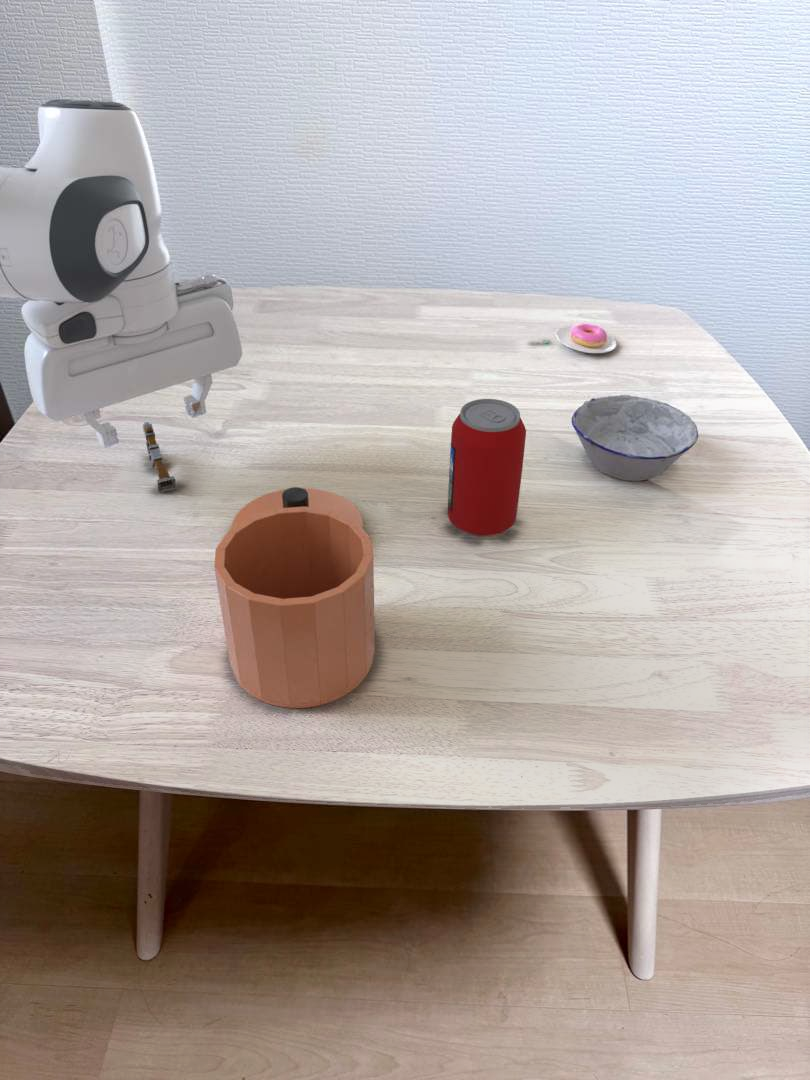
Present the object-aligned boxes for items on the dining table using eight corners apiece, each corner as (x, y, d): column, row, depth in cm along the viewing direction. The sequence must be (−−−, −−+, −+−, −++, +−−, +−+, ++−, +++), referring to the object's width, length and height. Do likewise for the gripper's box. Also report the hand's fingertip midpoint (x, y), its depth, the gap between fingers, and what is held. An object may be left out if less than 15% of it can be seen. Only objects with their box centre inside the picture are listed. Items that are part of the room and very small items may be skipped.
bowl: (549, 472, 90) (555, 433, 87) (589, 420, 99) (595, 383, 96) (670, 508, 85) (681, 467, 82) (701, 449, 94) (711, 411, 91)
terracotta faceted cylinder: (229, 715, 63) (211, 611, 57) (233, 612, 72) (217, 512, 66) (381, 700, 64) (380, 597, 58) (366, 601, 73) (364, 502, 67)
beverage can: (478, 493, 87) (486, 387, 79) (530, 521, 83) (543, 413, 75) (432, 520, 83) (436, 412, 75) (484, 551, 79) (494, 440, 72)
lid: (230, 581, 75) (224, 539, 72) (234, 501, 85) (228, 462, 82) (369, 571, 77) (368, 529, 74) (357, 493, 86) (356, 454, 83)
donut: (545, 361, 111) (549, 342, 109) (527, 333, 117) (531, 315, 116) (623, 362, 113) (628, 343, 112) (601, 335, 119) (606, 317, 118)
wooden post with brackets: (156, 441, 92) (153, 415, 88) (177, 501, 89) (175, 477, 85) (139, 445, 91) (136, 419, 88) (159, 505, 88) (157, 481, 84)
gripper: (213, 260, 84) (230, 386, 92) (1, 311, 74) (43, 447, 82) (244, 279, 80) (260, 409, 88) (26, 336, 70) (67, 476, 78)
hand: (154, 428), depth 85 cm, fingers open, 8 cm apart
